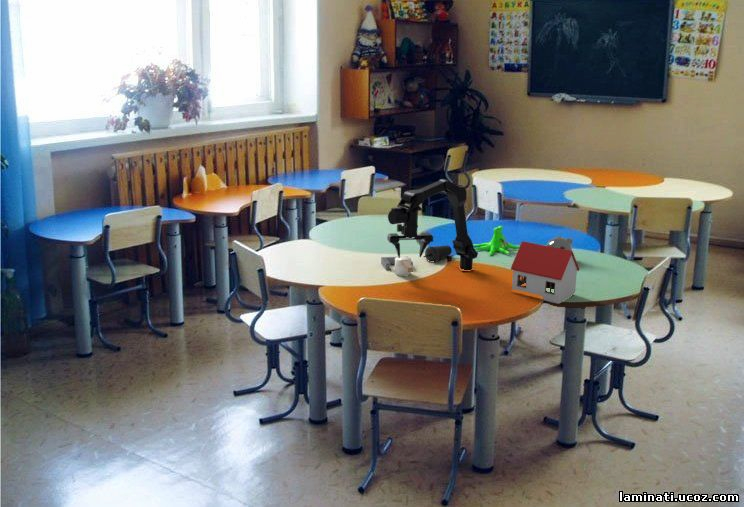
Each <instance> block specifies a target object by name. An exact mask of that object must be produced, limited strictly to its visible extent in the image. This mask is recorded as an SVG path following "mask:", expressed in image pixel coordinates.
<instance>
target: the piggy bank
mask: <svg viewBox="0 0 744 507" xmlns="http://www.w3.org/2000/svg"><path fill="white" fill-rule="evenodd" d="M573 243H574V240H573V238H572V237H568V238H565V237H562V236H561V235H557V236H556V237H554V238H551V239H550V240H549V241H548V242H547V244H546V246H550V247H555V248H560V247H565V250H571V251H573V247H572V244H573Z"/></svg>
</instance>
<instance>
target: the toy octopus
mask: <svg viewBox="0 0 744 507" xmlns="http://www.w3.org/2000/svg"><path fill="white" fill-rule="evenodd" d="M503 229H504V227H503V225H499V226H496V227H494V228H493V236H492V238H491V240H490V241H489V242H482V243H478V244H477V243H474V244H473V247H474V249H475V250H476V251H488V253H489V254H488V256H489V257H490V256H493V255H494V253H496V252H498V253H504V254H506V255H509V254H510V251H508V250H510V249H512V250H519V247H520V245H514V244H512V243H511V242H507V241H506V236H505V235H504V234H503V232H502V231H503Z"/></svg>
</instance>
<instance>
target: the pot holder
mask: <svg viewBox="0 0 744 507" xmlns="http://www.w3.org/2000/svg"><path fill="white" fill-rule="evenodd" d="M396 257H397V256H385V257H384V256H382V257H380V258H381V259H380V264H381V265H382V267H383V269H384V270H385V269H386V270H385V271H389V270H391V265H395V258H396ZM404 257H409V256H404ZM411 265H412V267H413V268H414V262H413V261H412V260H411Z"/></svg>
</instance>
